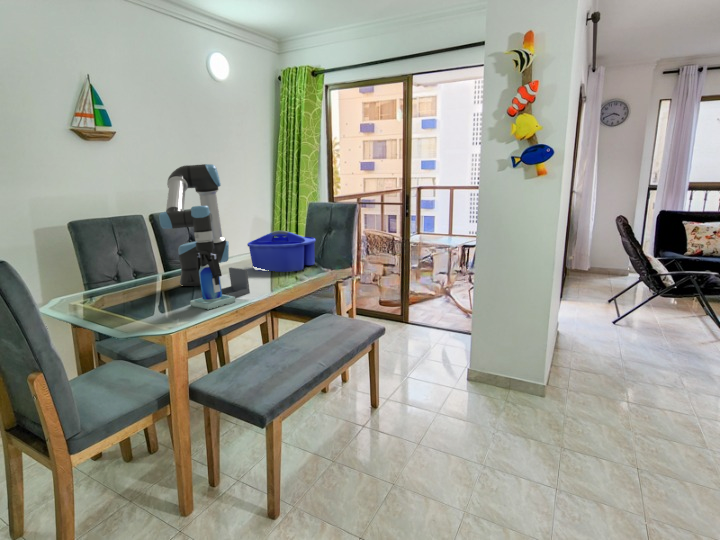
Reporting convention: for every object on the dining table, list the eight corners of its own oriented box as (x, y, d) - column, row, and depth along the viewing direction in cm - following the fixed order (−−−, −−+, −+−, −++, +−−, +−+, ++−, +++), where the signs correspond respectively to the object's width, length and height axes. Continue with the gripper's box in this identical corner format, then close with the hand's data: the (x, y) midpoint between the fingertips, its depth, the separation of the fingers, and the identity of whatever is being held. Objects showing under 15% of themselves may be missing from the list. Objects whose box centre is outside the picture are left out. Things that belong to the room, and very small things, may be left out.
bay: (214, 295, 212) (211, 271, 209) (233, 290, 220) (230, 267, 218) (230, 298, 203) (227, 273, 201) (249, 293, 212) (246, 269, 210)
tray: (190, 306, 195) (190, 300, 194) (217, 298, 206) (217, 293, 205) (208, 310, 186) (207, 304, 186) (235, 302, 197) (234, 296, 196)
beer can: (204, 303, 190) (199, 268, 187) (201, 299, 197) (196, 265, 194) (223, 300, 194) (219, 265, 191) (220, 296, 201) (216, 262, 198)
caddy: (302, 273, 252) (298, 233, 248) (239, 271, 269) (235, 234, 265) (326, 262, 281) (323, 226, 276) (268, 262, 298) (264, 228, 293)
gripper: (183, 241, 194) (191, 290, 198) (210, 243, 181) (217, 295, 185) (198, 239, 200) (205, 286, 204) (225, 240, 186) (232, 291, 191)
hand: (211, 290), depth 195 cm, fingers closed on beer can, 8 cm apart
